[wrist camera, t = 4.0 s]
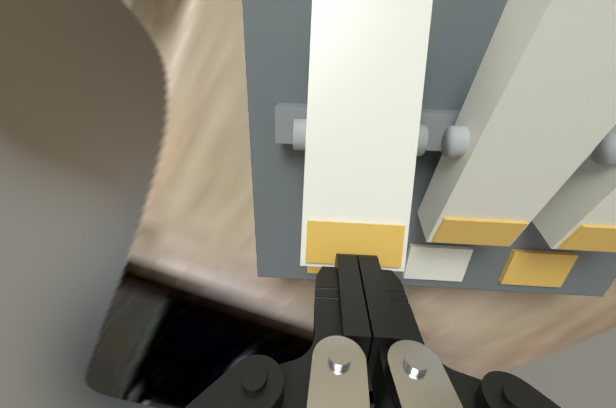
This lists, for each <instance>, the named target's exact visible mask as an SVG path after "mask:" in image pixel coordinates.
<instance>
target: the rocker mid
mask: <svg viewBox="0 0 616 408" xmlns="http://www.w3.org/2000/svg"><path fill="white" fill-rule="evenodd" d="M615 125H616V0H508V1H507V4H506V6H505V8H504V11H503V13H502V15H501V18H500V20H499V22H498V25H497V27H496V29H495V32H494V34H493V36H492V39H491V41H490V43H489V46H488V48H487V50H486V53H485V55H484V57H483V60H482V62H481V64H480V67H479V69H478V71H477V74H476V76H475V78H474V81H473V83H472V85H471V88H470V90H469V93H468V95H467V97H466V100H465V102H464V104H463V107H462V109H461V111H460V114H459V116H458V118H457V121H456V123H455V125H454V126H448V127H447V128H446V130H445V131H444V134H443V136H442V141H441V152H442V156H441V158H440V160H439V163H438V165H437V167H436V170H435V172H434V174H433V177H432V179H431V181H430V184H429V186H428V188H427V191H426V193H425V195H424V198H423V200H422V202H421V205H420V207H419V209H418V212H417V213H418V217H419V220H420V223H421V226H422V229H423V233H424V236H425V239H426V242H436V243H454V244H472V245H491V246H510V245H511V244H512V243H513V242H514V241H515V240H516V238H517V237H518V236H519V235H520V234H521V233H522V231H523V230H524V229H525V228H526V227H527V226H528V225H529V223H530V222H531V221H532V220H533V219H534V218H535V217H536V215H537V214H538V213H539V212H540V211H541V210H542V208H543V207H544V206H545V205H546V204H547V203H548V202H549V200H550V199H551V198H552V197H553V196H554V195H555V194H556V192H557V191H558V190H559V189H560V188H561V187H562V185H563V184H564V183H565V182H566V181H567V180H568V179H569V177H570V176H571V175H572V174H573V173H574V172H575V171H576V169H577V168H578V167H579V166H580V165H581V164H582V162H583V161H585V160H586V159H588V158H589V156H590V155H591V154H592V152H593V150H594V149H595V148H596V146H597V145H598V144H599V143H600V142H601V141H602V139H603V138H604V137H605V136H606V135H607V134H608V133H609V131H610V130H611V129H612V128H613V127H614V126H615Z"/></svg>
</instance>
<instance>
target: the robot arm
mask: <svg viewBox="0 0 616 408" xmlns="http://www.w3.org/2000/svg"><path fill="white" fill-rule="evenodd" d="M369 391H373V396H374V402H375V407H374V408H561V407H559V406H558V405H556V404H555V403H554V402H552V401H551V400H550V399H548V398H547V397H546V396H544V395H543V394H542V393H540V392H539V391H537V390H536V389H534V388H533V387H532V386H531V385H529V384H528V383H526V382H525V381H523V380H522V379H520V378H518V377H517V376H514V375H512V374H509V373H506V372H501V371H493V372H489V373H487V374H486V375H485V376H484V378H483V379H482V380H480V379H477V378H474V377H471V376H469V375H466V374H463V373H460V372H457V371H455V370H452V369H450V368H448V367H447V366H445V365H443V364H442V363H441V361H440V359H439V358H438V357H437V355H436V354H435V353H434V352H433V351H432V350H431V349H429V348H428V347H426V346H425V344H424V342H423V339H422V337H421V334H420V331H419V329H418V326H417V323H416V321H415V318H414V315H413V312H412V310H411V307H410V304H408V299H407V296H406V294H405V291H404V288H403V285H402V283H401V280H400V279H399V278H398V277H397V276H396V275H395V274H394V273H393V272H392V270H381V267H380V263H379V260H378V257H377V256H376V255H358V254H357V255H356V254H339V253H336V257H335V267H325V266H322V267H321V269H320V270H319V272H318V274H317V275H316V287H315V303H314V335H313V345H312V347H311V348H310V349H309V351H308V352H307V353H306V354H305V355H303V356H302V357H300V358H298V359H296V360H293V361H290V362H286V363H282V364H278V363H277V362H276V361H275V360H273V359H272V358H270V357H267V356H264V355H252V356H248V357H246V358H244V359H242V360H240V361H239V362H237V363H236V364H235V365H234V366H233V367H231V368H230V369H229V370H228V371H227V372H226V373H224V374H223V375H222V376H221V377H220V378H219V379H217V380H216V381H215V382H214V383H213V384H212V385H211V386H209V387H208V388H207V389H206V390H205V391H204V392H202V393H201V394H200V395H199V396H198V397H197V398H195V399H194V400H193V401H192V402H191V403H190V404H188V405H187V406H186V407H185V408H370V403H369Z"/></svg>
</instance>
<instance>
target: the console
mask: <svg viewBox="0 0 616 408" xmlns="http://www.w3.org/2000/svg"><path fill="white" fill-rule="evenodd" d="M507 1H508V0H433V3H432V13H431V22H430V32H429V42H428V51H427V61H426V70H425V80H424V89H423V99H422V109H421V118H420V124H425V125H426V126H427V128H428V144H427V147H426V150H425V152H424V154H423V155H422V156H416V166H415V176H414V185H413V195H412V204H411V214H410V223H409V233H408V243H407V252H406V262H405V271H392V272H393V273H394V274H395V275H396V276H397V277H398V278H399V279H400V280H401V283H402V285H412V286H429V287H447V288H464V289H481V290H498V291H515V292H533V293H550V294H567V295H584V296H602V297H603V295H604V294H605V292H606V291H607V289H608V288H609V286H610V285H611V283H612V282H613V281H614V279H615V278H616V252H601V251H582V250H564V249H551V248H550V246H549V245H548V243H547V242H546V240H545V239H544V238H543V236H542V235H541V233H540V232H539V230H538V229H537V228H536V226H535V225H534V223H533V222H532V221H531V222H530V223H529V225H528V226H527V227H526V228H525V229H524V230H523V231H522V233H521V234H520V235H519V236H518V237H517V238H516V240H515V241H514V242H513V243H512V244H511V245H510V246H491V245H472V244H454V243H436V242H426V239H425V236H424V233H423V229H422V226H421V223H420V220H419V217H418V213H417V212H418V209H419V207H420V205H421V202H422V200H423V198H424V195H425V193H426V191H427V188H428V186H429V184H430V181H431V179H432V177H433V174H434V172H435V170H436V167H437V165H438V163H439V160H440V158H441V156H442V152H441V141H442V136H443V134H444V131H445V130H446V128H447V127H448V126H454V125H455V123H456V121H457V118H458V116H459V114H460V111H461V109H462V107H463V104H464V102H465V100H466V97H467V95H468V93H469V90H470V88H471V85H472V83H473V81H474V78H475V76H476V74H477V71H478V69H479V67H480V64H481V62H482V60H483V57H484V55H485V53H486V50H487V48H488V46H489V43H490V41H491V39H492V36H493V34H494V32H495V29H496V27H497V25H498V22H499V20H500V18H501V15H502V13H503V11H504V8H505V6H506V4H507ZM242 3H243V21H244V39H245V57H246V75H247V92H248V110H249V128H250V146H251V164H252V182H253V199H254V217H255V235H256V253H257V271H258V277H274V278H291V279H309V280H316V275H317V274H318V272H319V270H320V269H321V267H316V266H300V254H301V232H302V211H303V189H304V167H305V150H294V149H293V126H294V119H307V102H308V80H309V58H310V36H311V15H312V0H242Z"/></svg>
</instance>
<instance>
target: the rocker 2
mask: <svg viewBox="0 0 616 408" xmlns="http://www.w3.org/2000/svg"><path fill="white" fill-rule="evenodd" d="M532 222H533V223H534V225H535V226H536V228H537V229H538V230H539V232H540V233H541V235H542V236H543V238H544V239H545V240H546V242H547V243H548V245H549V246H550V248H551V249H564V250H582V251H601V252H616V125H615V126H614V127H613V128H612V129H611V130H610V131H609V133H608V134H607V135H606V136H605V137H604V138H603V139H602V141H601V142H600V143H599V144H598V145H597V146H596V148H595V149H594V150H593V152H592V154H591V155H590V156H589V158H588V159H586V160H585V161H583V162H582V164H581V165H580V166H579V167H578V168H577V169H576V171H575V172H574V173H573V174H572V175H571V176H570V177H569V179H568V180H567V181H566V182H565V183H564V184H563V185H562V187H561V188H560V189H559V190H558V191H557V192H556V194H555V195H554V196H553V197H552V198H551V199H550V200H549V202H548V203H547V204H546V205H545V206H544V207H543V208H542V210H541V211H540V212H539V213H538V214H537V215H536V217H535V218H534V219H533V220H532Z"/></svg>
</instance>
